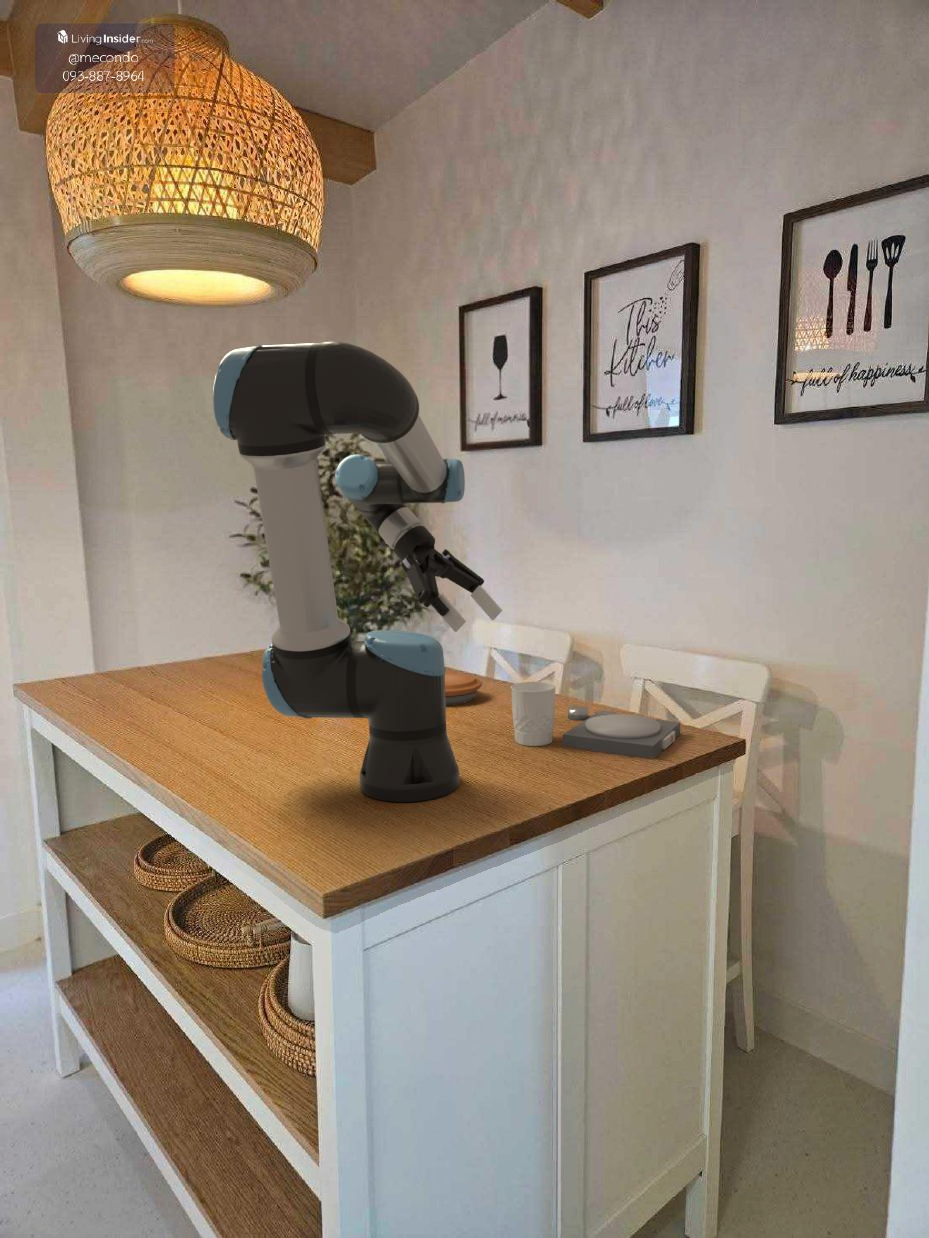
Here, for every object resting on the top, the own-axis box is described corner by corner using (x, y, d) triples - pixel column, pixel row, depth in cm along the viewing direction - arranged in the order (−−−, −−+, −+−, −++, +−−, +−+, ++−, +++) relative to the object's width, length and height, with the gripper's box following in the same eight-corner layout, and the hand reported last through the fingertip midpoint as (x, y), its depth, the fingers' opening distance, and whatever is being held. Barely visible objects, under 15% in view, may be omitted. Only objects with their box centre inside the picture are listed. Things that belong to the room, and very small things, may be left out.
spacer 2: (611, 727, 153) (611, 716, 153) (591, 724, 155) (591, 714, 155) (618, 721, 157) (618, 711, 156) (599, 719, 159) (599, 709, 158)
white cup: (554, 748, 140) (553, 691, 139) (508, 746, 142) (507, 691, 141) (558, 735, 148) (557, 681, 147) (515, 734, 150) (514, 681, 148)
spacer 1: (583, 722, 157) (583, 712, 157) (564, 719, 159) (564, 709, 159) (591, 717, 161) (591, 707, 160) (572, 715, 163) (572, 705, 162)
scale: (656, 759, 133) (656, 741, 132) (562, 746, 141) (562, 729, 141) (683, 734, 146) (684, 718, 146) (596, 724, 155) (596, 708, 154)
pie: (497, 699, 177) (496, 676, 177) (440, 712, 168) (439, 688, 167) (453, 688, 189) (453, 667, 189) (398, 699, 180) (397, 677, 179)
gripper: (432, 547, 165) (499, 623, 160) (356, 557, 144) (430, 646, 139) (454, 520, 162) (523, 598, 157) (379, 527, 141) (456, 617, 136)
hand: (479, 621), depth 148 cm, fingers open, 13 cm apart
